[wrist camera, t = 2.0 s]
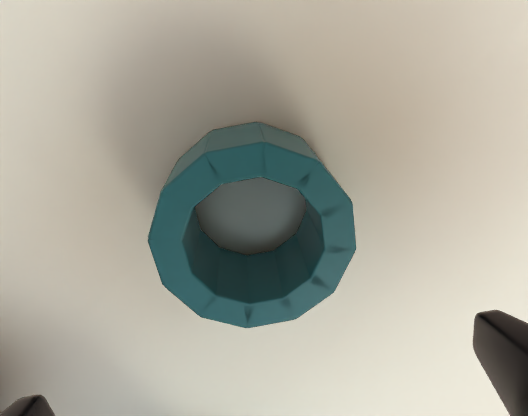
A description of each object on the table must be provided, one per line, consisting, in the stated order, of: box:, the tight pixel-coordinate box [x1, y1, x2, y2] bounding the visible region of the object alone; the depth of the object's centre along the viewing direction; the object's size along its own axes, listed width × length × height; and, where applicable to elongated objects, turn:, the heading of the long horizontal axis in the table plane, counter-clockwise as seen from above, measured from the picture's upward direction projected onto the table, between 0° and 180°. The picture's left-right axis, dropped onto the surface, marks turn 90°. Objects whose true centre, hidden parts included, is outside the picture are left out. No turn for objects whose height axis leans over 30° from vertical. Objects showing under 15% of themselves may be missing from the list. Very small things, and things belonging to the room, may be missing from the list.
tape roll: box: [148, 122, 356, 328], centre depth 14 cm, size 7×7×4 cm
